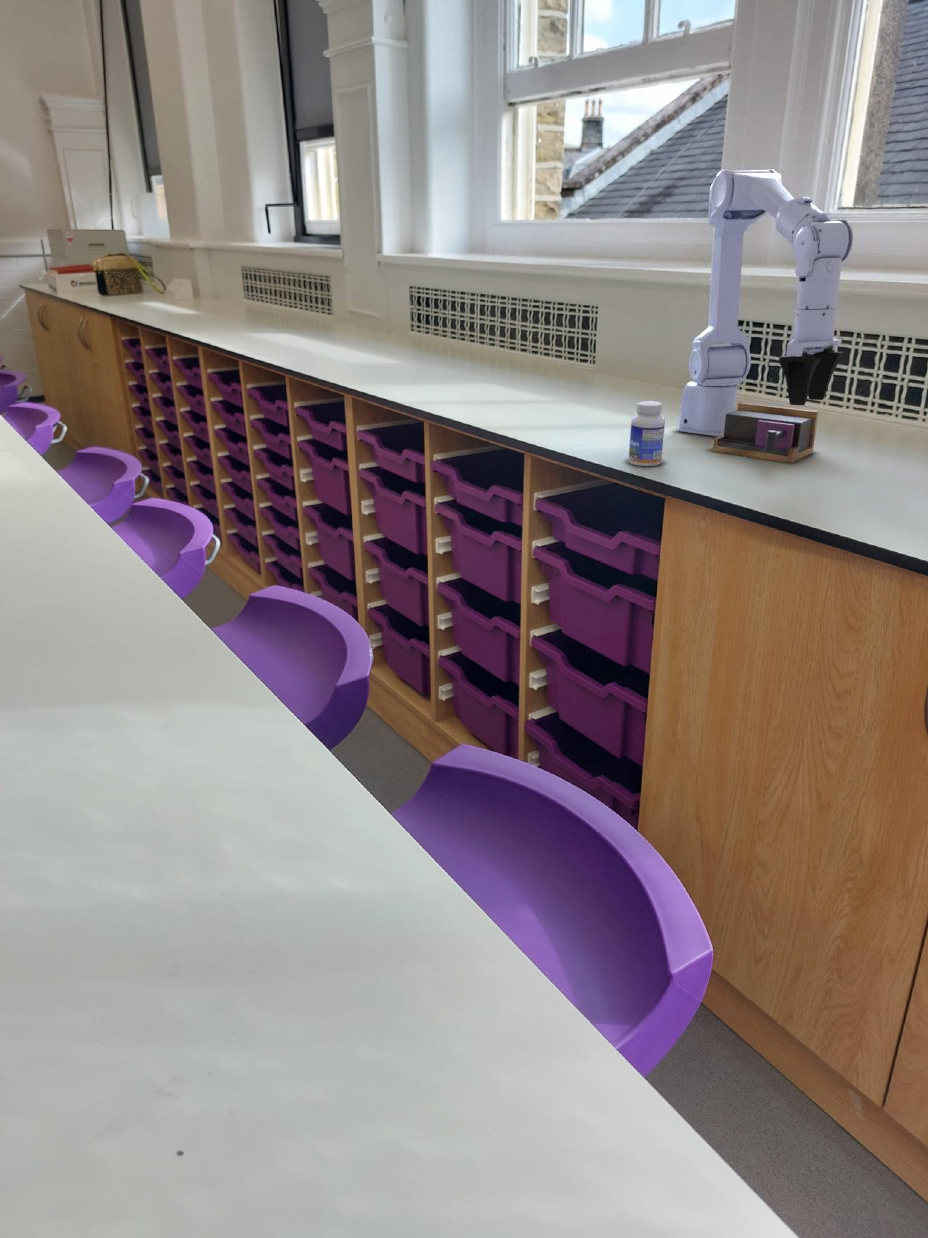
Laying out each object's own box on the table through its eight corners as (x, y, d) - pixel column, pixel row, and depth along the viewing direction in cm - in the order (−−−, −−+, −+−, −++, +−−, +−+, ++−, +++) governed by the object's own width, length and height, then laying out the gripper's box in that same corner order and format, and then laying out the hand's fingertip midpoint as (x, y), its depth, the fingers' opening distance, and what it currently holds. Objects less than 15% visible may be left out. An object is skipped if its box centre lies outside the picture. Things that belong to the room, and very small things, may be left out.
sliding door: (740, 454, 144) (743, 425, 142) (756, 447, 148) (759, 419, 146) (776, 459, 140) (779, 430, 138) (791, 452, 144) (794, 424, 142)
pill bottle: (624, 459, 147) (628, 400, 143) (656, 457, 148) (660, 399, 144) (633, 467, 142) (637, 406, 138) (665, 466, 143) (670, 405, 139)
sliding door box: (712, 450, 151) (716, 410, 148) (735, 441, 157) (740, 402, 155) (791, 462, 143) (797, 419, 140) (812, 452, 149) (818, 411, 146)
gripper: (825, 310, 123) (815, 408, 128) (860, 306, 133) (849, 398, 138) (776, 311, 128) (768, 406, 132) (813, 307, 138) (805, 396, 142)
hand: (806, 402), depth 135 cm, fingers open, 7 cm apart
